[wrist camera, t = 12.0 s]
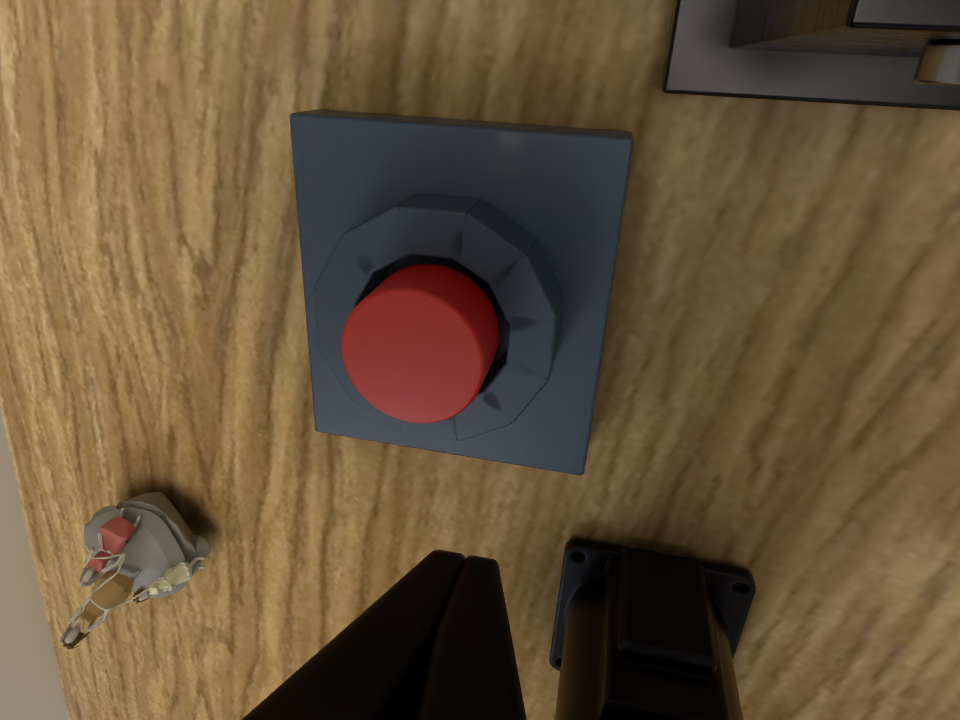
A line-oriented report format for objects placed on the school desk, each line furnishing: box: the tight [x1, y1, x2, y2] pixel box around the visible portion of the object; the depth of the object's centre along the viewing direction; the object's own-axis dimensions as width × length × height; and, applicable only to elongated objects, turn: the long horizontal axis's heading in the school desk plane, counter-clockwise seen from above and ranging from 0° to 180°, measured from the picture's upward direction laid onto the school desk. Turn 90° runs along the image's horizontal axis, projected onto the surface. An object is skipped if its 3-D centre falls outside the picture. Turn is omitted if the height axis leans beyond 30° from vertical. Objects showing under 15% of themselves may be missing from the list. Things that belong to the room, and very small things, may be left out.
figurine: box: [61, 492, 210, 649], centre depth 24 cm, size 5×4×6 cm
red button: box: [341, 264, 500, 423], centre depth 16 cm, size 4×4×2 cm
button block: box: [290, 110, 633, 475], centre depth 18 cm, size 10×9×4 cm
